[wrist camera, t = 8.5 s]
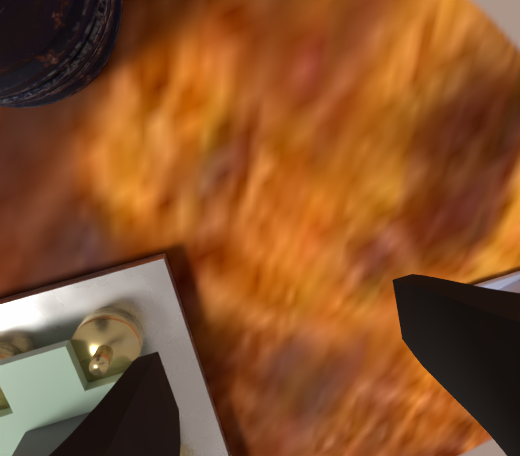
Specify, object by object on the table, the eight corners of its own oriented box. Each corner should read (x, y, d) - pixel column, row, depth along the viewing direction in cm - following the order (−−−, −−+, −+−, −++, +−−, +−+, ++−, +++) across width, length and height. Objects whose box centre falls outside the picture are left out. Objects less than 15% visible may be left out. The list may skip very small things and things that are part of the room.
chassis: (165, 252, 20) (159, 277, 17) (242, 489, 25) (250, 549, 21) (-99, 326, 19) (-165, 370, 16) (29, 562, 23) (0, 639, 20)
